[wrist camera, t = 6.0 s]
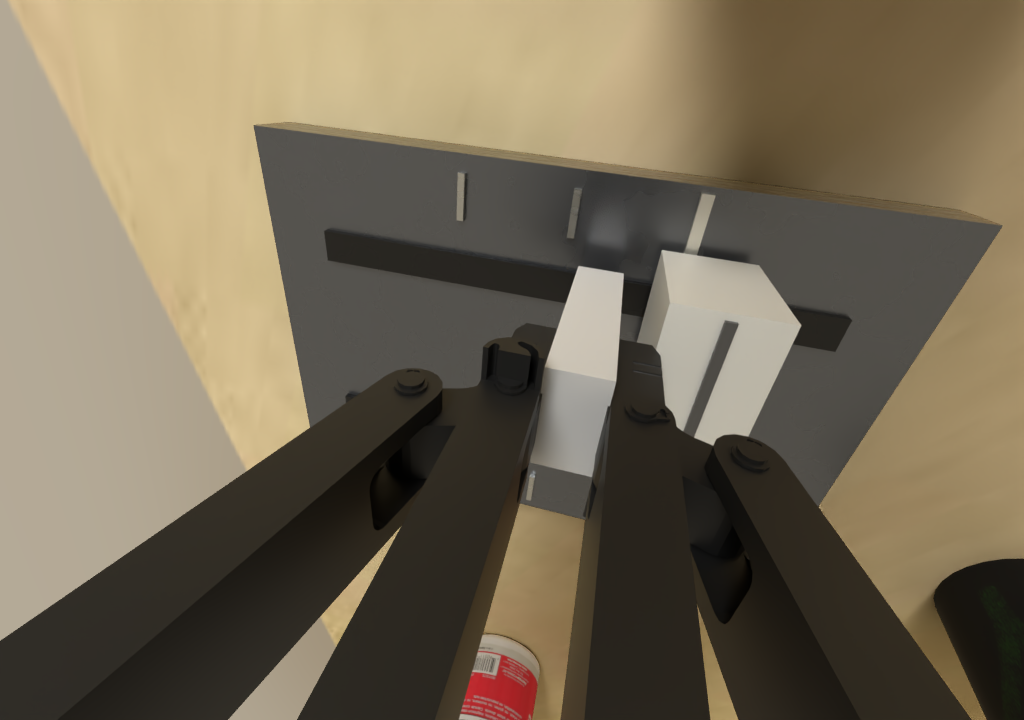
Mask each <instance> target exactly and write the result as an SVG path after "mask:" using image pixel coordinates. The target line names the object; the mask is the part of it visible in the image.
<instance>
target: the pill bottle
mask: <svg viewBox="0 0 1024 720" xmlns="http://www.w3.org/2000/svg"><path fill="white" fill-rule="evenodd" d="M539 672H540V669H539V664H538V661H537V659H536V658H535V656H534V655H533V654H532V653H531V652H530V651H529V650H528V649H527V648H526V647H524V646H523V645H521V644H520V643H518V642H516V641H514V640H512V639H509V638H507V637H503V636H500V635H494V634H485V635H482V639H481V643H480V646H479V650H478V653H477V657H476V660H475V664H474V667H473V671H472V674H471V678H470V682H469V685H468V689H467V692H466V696H465V699H464V703H463V706H462V710H461V713H460V717H459V720H532V716H533V710H534V704H535V698H536V692H537V686H538V680H539Z"/></svg>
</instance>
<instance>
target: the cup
mask: <svg viewBox="0 0 1024 720" xmlns="http://www.w3.org/2000/svg"><path fill="white" fill-rule="evenodd" d="M934 603H935V607H936V609H937V612H938V614H939V616H940V618H941V620H942V623H943V625H944V627H945V629H946V631H947V634H948V636H949V638H950V640H951V642H952V644H953V647H954V649H955V651H956V653H957V655H958V658H959V660H960V662H961V664H962V666H963V669H964V671H965V673H966V675H967V677H968V679H969V682H970V684H971V686H972V688H973V690H974V693H975V695H976V697H977V699H978V701H979V704H980V706H981V708H982V710H983V712H984V714H985V717H986V719H987V720H1024V559H1002V560H996V561H989V562H983V563H980V564H976V565H973V566H969V567H966V568H964V569H962V570H960V571H958V572H955V573H953V574H952V575H950V576H949V577H948V578H946V579H945V580H944V581H942V583H941V584H940V585H939V586H938V588H937V589H936V591H935V595H934Z"/></svg>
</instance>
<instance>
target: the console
mask: <svg viewBox="0 0 1024 720" xmlns="http://www.w3.org/2000/svg"><path fill="white" fill-rule="evenodd" d="M254 130H255V136H256V141H257V146H258V152H259V157H260V162H261V168H262V173H263V178H264V184H265V189H266V194H267V200H268V205H269V210H270V216H271V221H272V226H273V232H274V237H275V242H276V248H277V253H278V258H279V264H280V269H281V274H282V280H283V285H284V290H285V296H286V301H287V306H288V312H289V317H290V322H291V328H292V333H293V338H294V344H295V349H296V354H297V360H298V365H299V370H300V376H301V381H302V386H303V392H304V397H305V402H306V408H307V413H308V418H309V424H310V427H312V426H313V425H315V424H316V423H318V422H319V421H321V420H322V419H323V418H325V417H326V416H328V415H329V414H331V413H332V412H334V411H335V410H337V409H338V408H339V407H341V406H342V405H344V404H345V403H347V402H348V401H350V400H351V399H353V398H354V397H355V396H357V395H358V394H360V393H361V392H363V391H364V390H366V389H367V388H369V387H370V386H371V385H373V384H374V383H376V382H377V381H379V380H380V379H382V378H383V377H384V376H386V375H388V374H390V373H392V372H394V371H396V370H401V369H406V368H420V369H424V370H428V371H431V372H433V373H434V374H436V375H438V376H439V378H440V379H441V380H442V382H443V387H442V388H469V387H474V386H477V385H478V384H479V382H480V380H481V370H482V354H483V346H484V345H485V344H486V343H488V342H489V341H491V340H494V339H497V338H505V337H512V335H513V333H514V332H515V330H516V329H517V328H519V327H521V326H522V325H524V324H526V323H530V324H536V325H541V326H546V327H551V328H557V329H558V326H559V323H560V320H561V317H562V314H563V311H564V308H565V305H566V302H567V299H568V296H569V293H570V290H571V287H572V284H573V281H574V278H575V275H576V272H577V269H578V266H582V267H588V268H594V269H600V270H606V271H612V272H618V273H624V279H623V293H622V307H621V321H620V335H619V339H622V340H627V341H633V342H637V340H638V336H639V333H640V329H641V325H642V321H643V318H644V314H645V310H646V307H647V303H648V299H649V296H650V292H651V288H652V285H653V281H654V277H655V273H656V270H657V266H658V262H659V259H660V255H661V251H662V250H665V251H672V252H678V253H684V254H691V255H697V256H703V257H710V258H716V259H723V260H729V261H735V262H742V263H748V264H754V265H759V266H760V267H761V269H762V270H763V272H764V273H765V274H766V276H767V277H768V279H769V280H770V282H771V283H772V284H773V286H774V287H775V289H776V290H777V292H778V293H779V294H780V296H781V297H782V299H783V300H784V302H785V303H786V304H787V306H788V307H789V309H790V310H791V311H792V313H793V314H794V316H795V317H796V319H797V320H798V321H799V323H800V324H801V327H800V330H799V332H798V334H797V336H796V338H795V340H794V342H793V344H792V346H791V348H790V350H789V352H788V355H787V357H786V359H785V361H784V363H783V365H782V367H781V369H780V371H779V373H778V375H777V377H776V380H775V382H774V384H773V386H772V388H771V390H770V392H769V394H768V396H767V398H766V400H765V402H764V405H763V407H762V409H761V411H760V413H759V415H758V417H757V419H756V421H755V423H754V425H753V427H752V430H751V432H750V434H749V436H748V437H751V438H754V439H756V440H759V441H761V442H763V443H764V444H766V445H767V446H769V447H771V448H772V449H774V450H775V451H776V452H777V453H778V454H779V455H780V456H781V457H782V458H783V459H784V460H785V462H786V463H787V464H788V466H789V467H790V469H791V470H792V471H793V473H794V474H795V476H796V477H797V478H798V480H799V481H800V483H801V484H802V485H803V487H804V488H805V489H806V491H807V492H808V494H809V495H810V496H811V498H812V499H813V501H814V502H815V503H816V505H817V506H819V505H820V503H821V502H822V500H823V498H824V497H825V495H826V494H827V492H828V491H829V489H830V488H831V486H832V485H833V483H834V482H835V480H836V479H837V477H838V476H839V474H840V473H841V471H842V470H843V468H844V467H845V465H846V463H847V462H848V460H849V459H850V457H851V456H852V454H853V453H854V451H855V450H856V448H857V447H858V445H859V444H860V442H861V441H862V439H863V438H864V436H865V435H866V433H867V432H868V430H869V429H870V427H871V425H872V424H873V422H874V421H875V419H876V418H877V416H878V415H879V413H880V412H881V410H882V409H883V407H884V406H885V404H886V403H887V401H888V400H889V398H890V397H891V395H892V394H893V392H894V390H895V389H896V387H897V386H898V384H899V383H900V381H901V380H902V378H903V377H904V375H905V374H906V372H907V371H908V369H909V368H910V366H911V365H912V363H913V362H914V360H915V359H916V357H917V355H918V354H919V352H920V351H921V349H922V348H923V346H924V345H925V343H926V342H927V340H928V339H929V337H930V336H931V334H932V333H933V331H934V330H935V328H936V327H937V325H938V324H939V322H940V320H941V319H942V317H943V316H944V314H945V313H946V311H947V310H948V308H949V307H950V305H951V304H952V302H953V301H954V299H955V298H956V296H957V295H958V293H959V292H960V290H961V289H962V287H963V285H964V284H965V282H966V281H967V279H968V278H969V276H970V275H971V273H972V272H973V270H974V269H975V267H976V266H977V264H978V263H979V261H980V260H981V258H982V257H983V255H984V254H985V252H986V251H987V249H988V247H989V246H990V244H991V243H992V241H993V240H994V238H995V237H996V235H997V234H998V232H999V231H1000V229H1001V228H1002V225H1000V224H997V223H994V222H991V221H989V220H986V219H983V218H981V217H978V216H975V215H972V214H970V213H967V212H964V211H961V210H955V209H948V208H940V207H932V206H925V205H917V204H909V203H902V202H894V201H887V200H879V199H871V198H864V197H856V196H848V195H841V194H833V193H826V192H818V191H810V190H803V189H795V188H787V187H780V186H772V185H765V184H757V183H749V182H742V181H734V180H726V179H719V178H711V177H704V176H696V175H688V174H681V173H673V172H665V171H658V170H650V169H643V168H635V167H627V166H620V165H612V164H604V163H597V162H589V161H582V160H574V159H566V158H559V157H551V156H543V155H536V154H528V153H521V152H513V151H505V150H498V149H490V148H482V147H475V146H467V145H460V144H452V143H444V142H437V141H429V140H422V139H414V138H406V137H399V136H391V135H383V134H376V133H368V132H361V131H353V130H345V129H338V128H330V127H322V126H315V125H307V124H300V123H292V122H285V123H273V124H261V125H254ZM530 459H531V458H530ZM593 471H594V470H593ZM592 478H593V474H592V477H589V476H585V475H581V474H576V473H572V472H568V471H564V470H560V469H555V468H551V467H547V466H543V465H538V464H534V463H530V461H529V466H528V473H527V479H526V483H525V486H524V490H523V493H522V497H521V501H520V503H521V504H525V505H529V506H533V507H537V508H541V509H545V510H549V511H553V512H557V513H561V514H565V515H568V516H572V517H576V518H580V519H584V520H585V518H586V517H583V513H584V509H585V505H586V501H587V498H588V494H589V490H590V486H591V482H592Z"/></svg>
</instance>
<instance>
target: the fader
mask: <svg viewBox="0 0 1024 720" xmlns="http://www.w3.org/2000/svg"><path fill="white" fill-rule="evenodd" d="M800 327H801V324H800V323H799V321H798V320H797V319H796V317H795V316H794V314H793V313H792V311H791V310H790V309H789V307H788V306H787V304H786V303H785V302H784V300H783V299H782V297H781V296H780V294H779V293H778V292H777V290H776V289H775V287H774V286H773V284H772V283H771V282H770V280H769V279H768V277H767V276H766V274H765V273H764V272H763V270H762V269H761V267H760V266H759V265H754V264H748V263H742V262H735V261H729V260H723V259H716V258H710V257H703V256H697V255H691V254H684V253H678V252H672V251H665V250H662V251H661V255H660V259H659V262H658V266H657V270H656V273H655V277H654V281H653V285H652V288H651V292H650V296H649V299H648V303H647V307H646V310H645V314H644V318H643V321H642V325H641V329H640V333H639V336H638V340H637V342H638V343H643V344H648V345H652V346H653V347H654V348H655V349H656V351H657V352H658V353H659V354H660V356H661V364H662V368H661V369H662V375H663V376H662V378H663V386H664V396H665V405H666V406H667V407H668V408H669V409H670V410H671V411H672V413H673V415H674V417H675V420H676V426H677V427H678V428H679V429H680V430H682V431H683V432H685V433H686V434H688V435H690V436H692V437H694V438H696V439H699V440H701V441H703V442H706V443H708V444H711V445H714V443H715V441H716V439H717V438H719V437H721V436H723V435H730V434H737V435H743V436H749V434H750V432H751V430H752V427H753V425H754V423H755V421H756V419H757V417H758V415H759V413H760V411H761V409H762V407H763V405H764V402H765V400H766V398H767V396H768V394H769V392H770V390H771V388H772V386H773V384H774V382H775V380H776V377H777V375H778V373H779V371H780V369H781V367H782V365H783V363H784V361H785V359H786V357H787V355H788V352H789V350H790V348H791V346H792V344H793V342H794V340H795V338H796V336H797V334H798V332H799V330H800Z"/></svg>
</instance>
